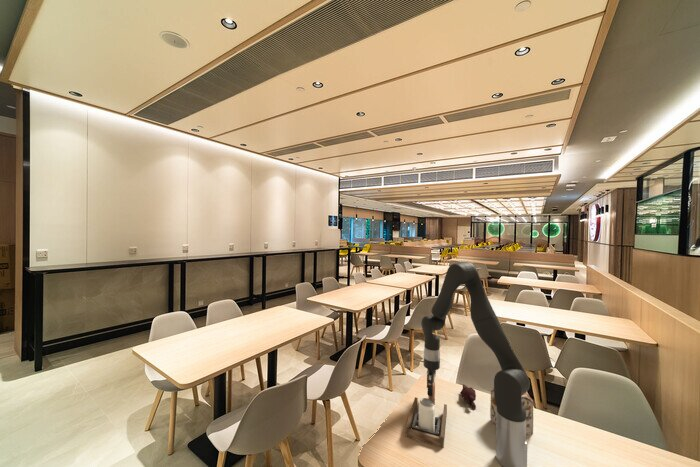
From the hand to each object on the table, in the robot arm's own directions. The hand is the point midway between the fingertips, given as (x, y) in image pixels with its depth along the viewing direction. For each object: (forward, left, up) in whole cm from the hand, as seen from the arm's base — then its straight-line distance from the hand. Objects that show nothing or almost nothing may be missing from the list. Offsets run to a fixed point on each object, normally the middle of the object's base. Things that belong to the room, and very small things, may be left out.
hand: (430, 390), depth 132 cm
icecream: (-17, -11, -7) cm, 21 cm away
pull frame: (0, +11, -6) cm, 13 cm away
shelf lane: (0, +15, -7) cm, 16 cm away
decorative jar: (-33, +2, -7) cm, 34 cm away
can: (0, +19, -7) cm, 20 cm away
